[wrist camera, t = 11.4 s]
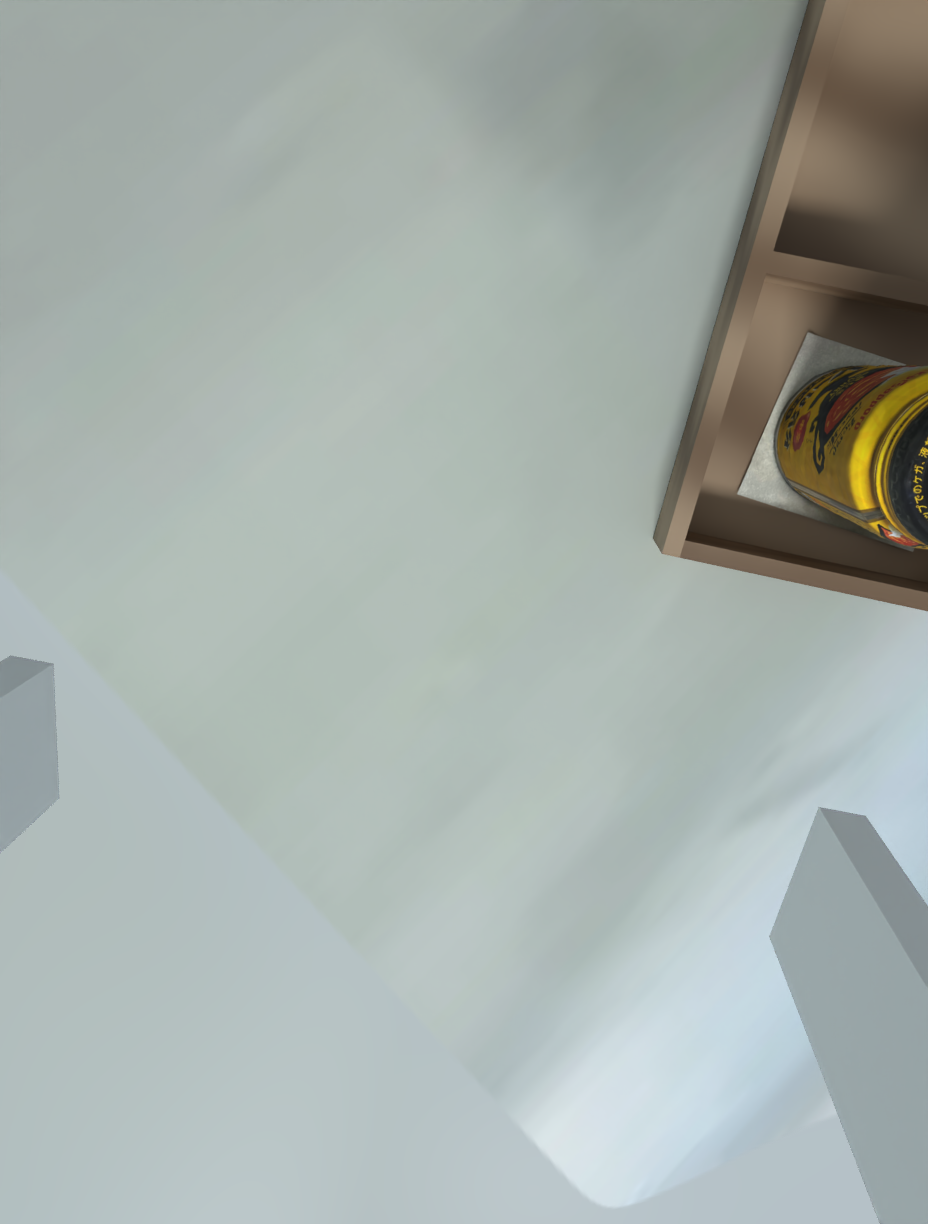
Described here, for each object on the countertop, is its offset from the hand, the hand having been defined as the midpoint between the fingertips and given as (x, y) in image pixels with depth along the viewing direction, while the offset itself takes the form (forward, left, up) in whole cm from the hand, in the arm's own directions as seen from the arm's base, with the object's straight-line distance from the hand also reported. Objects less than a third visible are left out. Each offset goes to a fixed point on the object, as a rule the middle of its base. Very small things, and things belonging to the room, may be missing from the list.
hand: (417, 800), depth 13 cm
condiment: (-7, +15, -25) cm, 30 cm away
